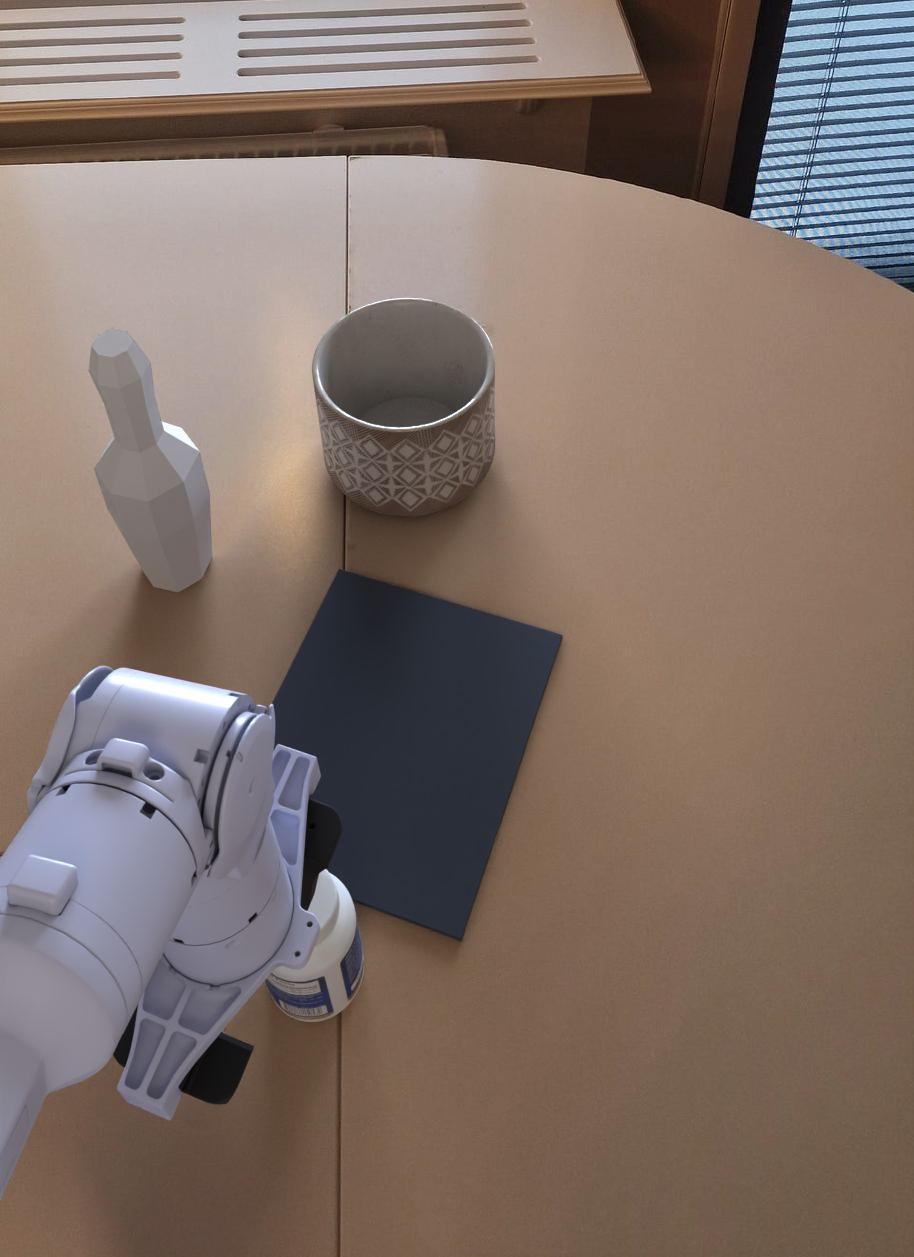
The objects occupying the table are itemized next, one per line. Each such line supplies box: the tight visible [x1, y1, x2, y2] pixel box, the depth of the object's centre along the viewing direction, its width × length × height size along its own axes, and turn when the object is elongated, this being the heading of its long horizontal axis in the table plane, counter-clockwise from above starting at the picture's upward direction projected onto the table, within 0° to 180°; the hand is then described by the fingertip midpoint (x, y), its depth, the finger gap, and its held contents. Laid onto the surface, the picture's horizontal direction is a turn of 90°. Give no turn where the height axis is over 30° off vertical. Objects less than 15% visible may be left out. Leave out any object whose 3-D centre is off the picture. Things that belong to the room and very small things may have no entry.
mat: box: [271, 568, 564, 942], centre depth 80 cm, size 20×16×1 cm
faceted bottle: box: [88, 327, 213, 593], centre depth 82 cm, size 6×6×22 cm
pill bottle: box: [264, 869, 365, 1023], centre depth 67 cm, size 5×5×10 cm
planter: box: [311, 297, 496, 517], centre depth 93 cm, size 13×13×10 cm
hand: (255, 980), depth 60 cm, fingers open, 7 cm apart
